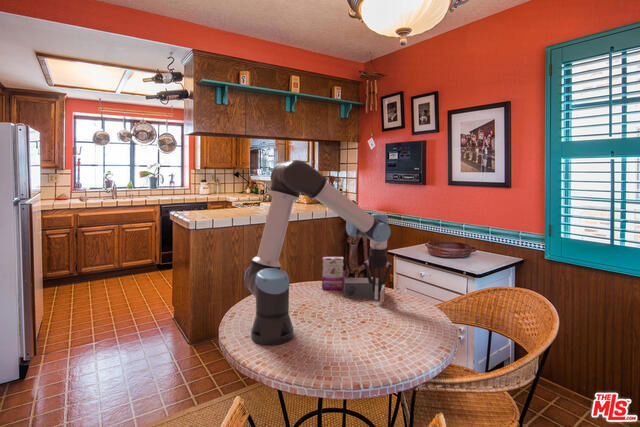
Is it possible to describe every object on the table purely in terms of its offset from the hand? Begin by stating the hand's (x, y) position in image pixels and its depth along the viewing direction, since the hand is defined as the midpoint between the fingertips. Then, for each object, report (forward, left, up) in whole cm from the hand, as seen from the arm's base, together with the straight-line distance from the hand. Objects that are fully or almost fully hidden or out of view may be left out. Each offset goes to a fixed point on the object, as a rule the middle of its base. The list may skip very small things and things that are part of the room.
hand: (376, 298), depth 163 cm
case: (-5, +13, -2) cm, 14 cm away
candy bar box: (-19, +22, -3) cm, 29 cm away
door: (+4, +2, -2) cm, 5 cm away
